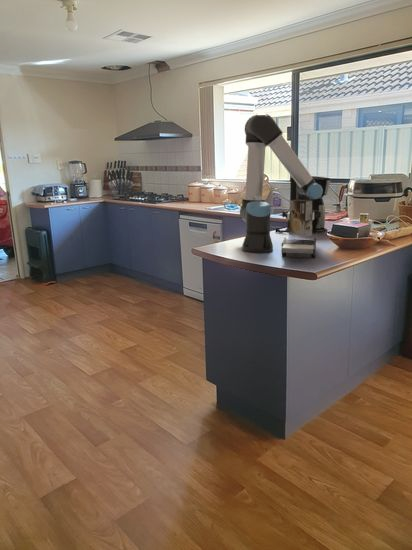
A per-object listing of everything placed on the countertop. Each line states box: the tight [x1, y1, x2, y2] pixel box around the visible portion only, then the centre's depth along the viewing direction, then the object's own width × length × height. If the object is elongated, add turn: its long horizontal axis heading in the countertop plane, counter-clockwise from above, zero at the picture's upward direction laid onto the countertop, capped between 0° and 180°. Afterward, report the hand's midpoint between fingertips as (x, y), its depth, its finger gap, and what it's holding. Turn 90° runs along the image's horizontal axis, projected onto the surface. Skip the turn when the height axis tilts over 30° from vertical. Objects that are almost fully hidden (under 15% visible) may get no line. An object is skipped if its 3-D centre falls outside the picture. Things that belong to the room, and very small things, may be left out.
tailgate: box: [280, 244, 314, 254], centre depth 189 cm, size 13×2×13 cm
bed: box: [280, 237, 317, 259], centre depth 202 cm, size 15×15×7 cm
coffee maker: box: [275, 175, 331, 234], centre depth 263 cm, size 23×32×34 cm
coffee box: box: [288, 199, 313, 237], centre depth 200 cm, size 9×6×16 cm
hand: (300, 216), depth 196 cm, fingers closed on coffee box, 10 cm apart
